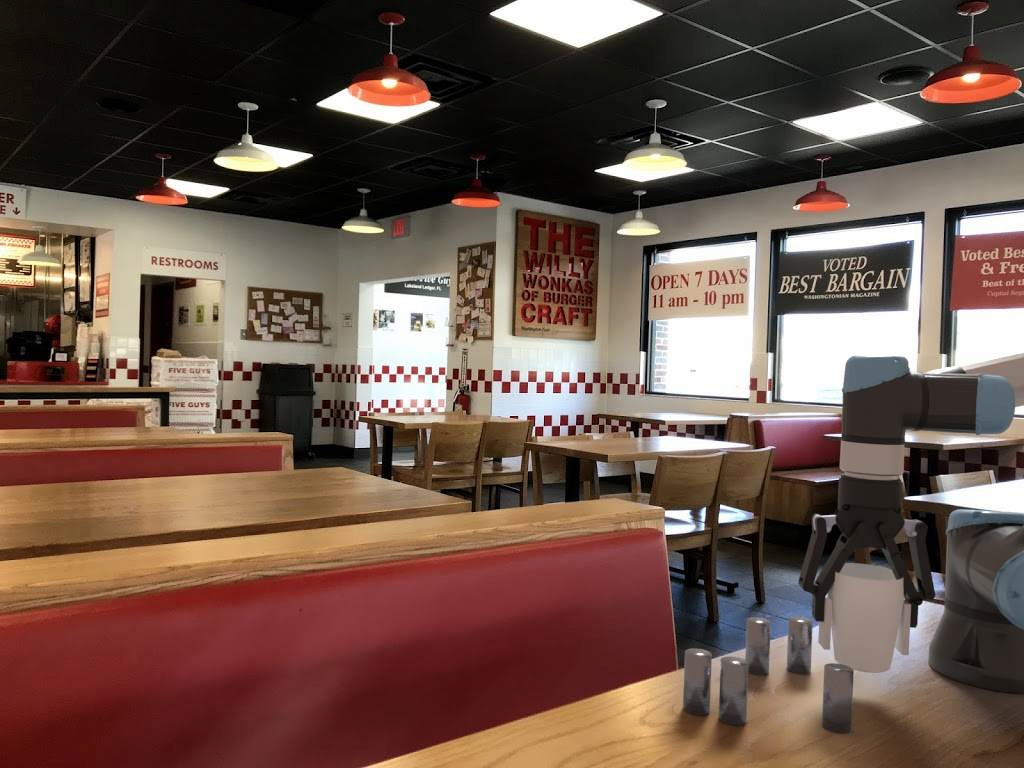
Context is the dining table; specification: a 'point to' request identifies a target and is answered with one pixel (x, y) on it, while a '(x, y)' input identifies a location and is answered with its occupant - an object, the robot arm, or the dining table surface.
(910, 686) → the dining table surface
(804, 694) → the dining table surface
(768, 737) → the dining table surface
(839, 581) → the cup
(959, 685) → the dining table surface
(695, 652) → the posts
